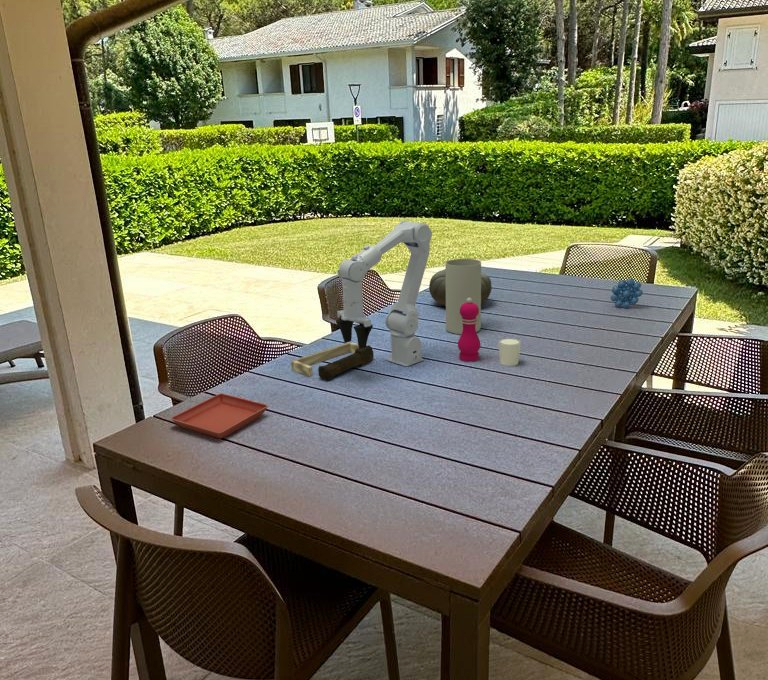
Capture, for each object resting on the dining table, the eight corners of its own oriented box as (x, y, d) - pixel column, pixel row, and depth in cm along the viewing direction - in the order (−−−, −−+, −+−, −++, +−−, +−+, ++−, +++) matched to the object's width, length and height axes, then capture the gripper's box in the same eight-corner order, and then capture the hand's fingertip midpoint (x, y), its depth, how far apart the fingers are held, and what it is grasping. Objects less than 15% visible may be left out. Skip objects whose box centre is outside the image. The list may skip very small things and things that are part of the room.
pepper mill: (482, 355, 210) (483, 295, 204) (478, 363, 203) (478, 301, 197) (460, 353, 212) (460, 294, 206) (455, 361, 206) (455, 300, 199)
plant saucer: (221, 444, 158) (219, 432, 157) (170, 429, 167) (169, 417, 166) (270, 416, 172) (269, 405, 171) (221, 403, 182) (220, 392, 181)
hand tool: (328, 383, 193) (327, 365, 191) (317, 379, 196) (316, 362, 194) (380, 362, 209) (380, 345, 207) (370, 358, 212) (369, 342, 210)
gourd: (449, 288, 286) (452, 251, 278) (499, 303, 274) (504, 265, 265) (417, 306, 268) (420, 268, 260) (470, 324, 256) (474, 284, 248)
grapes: (641, 306, 257) (644, 276, 253) (641, 310, 251) (643, 280, 247) (610, 304, 261) (612, 275, 257) (609, 308, 255) (611, 278, 251)
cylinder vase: (441, 333, 233) (440, 265, 226) (451, 323, 244) (451, 258, 237) (475, 336, 229) (476, 266, 221) (484, 326, 240) (484, 259, 232)
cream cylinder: (522, 360, 204) (523, 339, 202) (517, 367, 198) (518, 346, 196) (501, 358, 207) (501, 337, 205) (495, 365, 201) (495, 343, 199)
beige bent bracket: (369, 356, 213) (368, 347, 212) (309, 376, 198) (308, 367, 197) (350, 350, 220) (350, 341, 219) (291, 369, 204) (291, 360, 203)
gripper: (328, 298, 194) (330, 342, 198) (356, 307, 183) (358, 353, 187) (347, 294, 198) (349, 337, 202) (376, 303, 187) (377, 348, 191)
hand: (355, 344), depth 195 cm, fingers open, 7 cm apart
